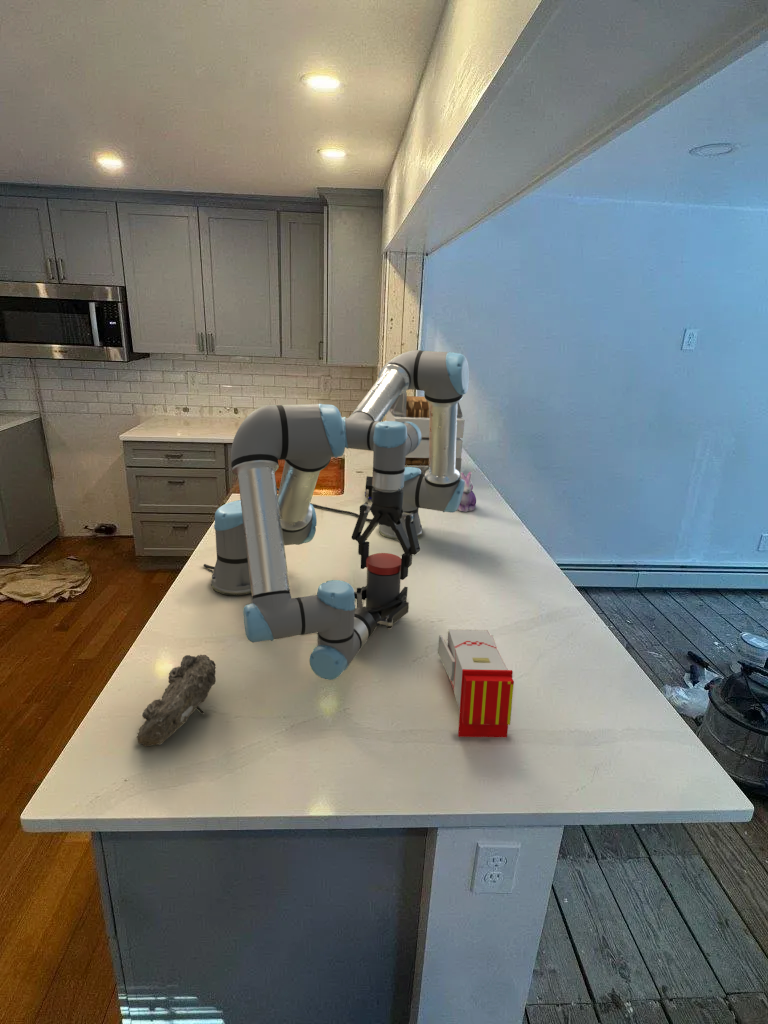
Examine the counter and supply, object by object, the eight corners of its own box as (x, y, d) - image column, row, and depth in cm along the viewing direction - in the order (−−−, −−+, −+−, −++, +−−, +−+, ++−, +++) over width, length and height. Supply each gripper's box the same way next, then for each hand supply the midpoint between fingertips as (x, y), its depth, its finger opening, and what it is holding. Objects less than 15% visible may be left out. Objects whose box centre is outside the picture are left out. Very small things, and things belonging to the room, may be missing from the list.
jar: (403, 613, 148) (407, 560, 143) (389, 628, 141) (392, 573, 135) (374, 605, 151) (377, 552, 146) (359, 619, 144) (361, 564, 139)
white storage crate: (382, 463, 289) (386, 382, 275) (445, 464, 293) (451, 384, 279) (390, 482, 257) (394, 392, 243) (460, 483, 261) (468, 394, 247)
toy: (488, 613, 130) (523, 677, 101) (484, 667, 133) (517, 744, 104) (435, 612, 130) (455, 676, 101) (432, 666, 133) (451, 743, 103)
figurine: (463, 513, 222) (466, 477, 217) (448, 505, 231) (451, 470, 225) (482, 510, 226) (486, 474, 221) (467, 503, 235) (471, 468, 230)
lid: (362, 560, 144) (362, 554, 143) (396, 558, 146) (396, 551, 146) (370, 576, 136) (371, 569, 135) (407, 573, 138) (407, 566, 138)
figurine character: (380, 506, 230) (380, 491, 243) (381, 489, 227) (381, 475, 240) (364, 506, 230) (364, 491, 243) (364, 489, 226) (365, 474, 240)
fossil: (167, 656, 118) (217, 624, 113) (199, 686, 121) (249, 656, 116) (112, 740, 99) (170, 705, 94) (152, 773, 102) (210, 741, 97)
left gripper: (312, 633, 133) (351, 592, 153) (397, 655, 126) (427, 609, 146) (312, 605, 130) (352, 567, 150) (399, 626, 123) (429, 583, 143)
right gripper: (438, 492, 132) (432, 577, 140) (354, 476, 142) (352, 556, 150) (426, 501, 126) (419, 589, 134) (338, 483, 136) (336, 566, 143)
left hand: (389, 587), depth 148 cm, fingers closed on jar, 8 cm apart
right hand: (383, 572), depth 142 cm, fingers open, 10 cm apart
